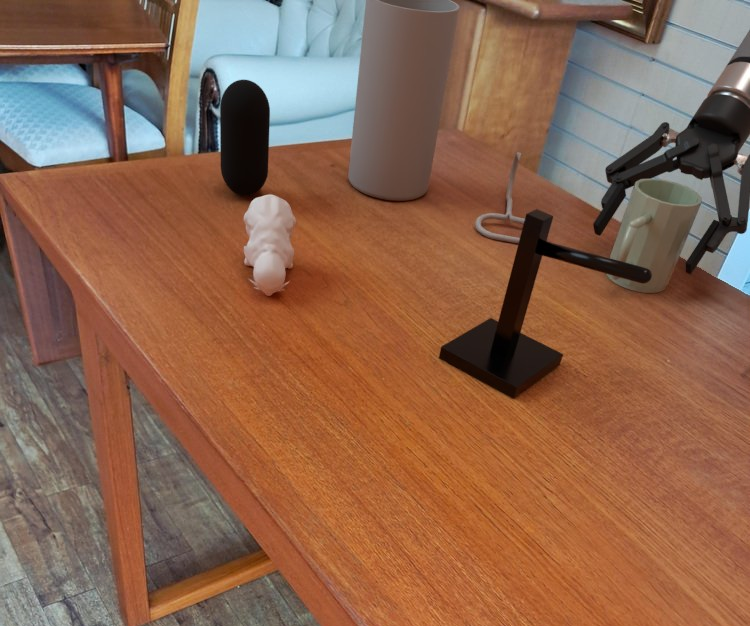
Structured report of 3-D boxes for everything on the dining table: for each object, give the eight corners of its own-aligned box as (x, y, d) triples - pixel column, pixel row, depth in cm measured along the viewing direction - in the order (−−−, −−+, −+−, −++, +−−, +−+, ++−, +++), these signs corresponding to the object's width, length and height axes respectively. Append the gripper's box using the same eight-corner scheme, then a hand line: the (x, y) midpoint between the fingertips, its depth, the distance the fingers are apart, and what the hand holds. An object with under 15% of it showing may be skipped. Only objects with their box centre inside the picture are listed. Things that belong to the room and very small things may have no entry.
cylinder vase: (331, 177, 122) (347, -11, 105) (389, 165, 129) (413, -14, 112) (386, 208, 116) (412, 14, 99) (443, 194, 123) (478, 9, 106)
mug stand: (438, 358, 88) (469, 208, 76) (488, 328, 94) (524, 186, 82) (575, 432, 80) (632, 279, 69) (619, 395, 87) (678, 249, 75)
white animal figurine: (297, 190, 95) (300, 244, 87) (293, 253, 101) (295, 309, 93) (244, 185, 94) (241, 239, 86) (243, 250, 100) (241, 305, 92)
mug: (622, 257, 114) (652, 173, 106) (676, 281, 110) (712, 196, 102) (578, 284, 106) (606, 195, 98) (635, 310, 102) (670, 220, 94)
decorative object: (259, 183, 117) (261, 72, 107) (273, 202, 113) (277, 88, 102) (215, 185, 114) (213, 72, 104) (228, 204, 110) (228, 88, 100)
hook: (538, 192, 127) (533, 262, 114) (480, 181, 127) (469, 250, 115) (550, 147, 121) (547, 217, 109) (490, 137, 122) (480, 204, 109)
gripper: (819, 159, 102) (728, 298, 103) (646, 101, 112) (564, 228, 113) (829, 123, 95) (730, 272, 96) (644, 65, 106) (556, 200, 107)
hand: (640, 249), depth 105 cm, fingers open, 13 cm apart
